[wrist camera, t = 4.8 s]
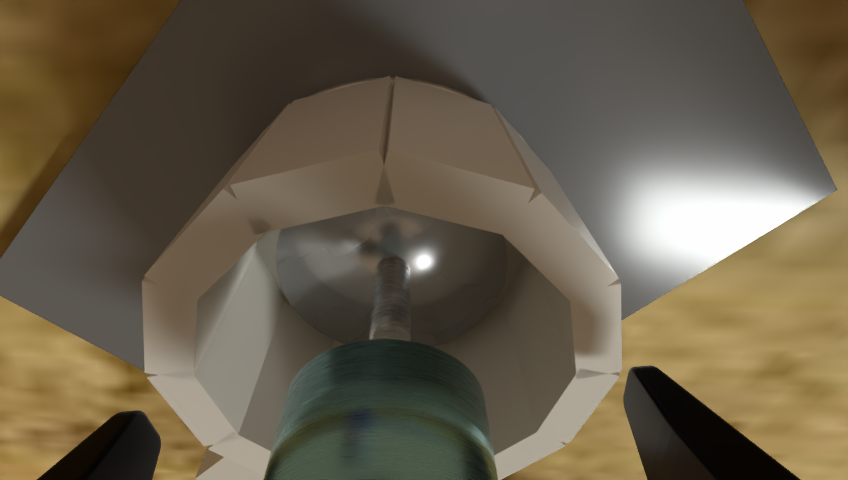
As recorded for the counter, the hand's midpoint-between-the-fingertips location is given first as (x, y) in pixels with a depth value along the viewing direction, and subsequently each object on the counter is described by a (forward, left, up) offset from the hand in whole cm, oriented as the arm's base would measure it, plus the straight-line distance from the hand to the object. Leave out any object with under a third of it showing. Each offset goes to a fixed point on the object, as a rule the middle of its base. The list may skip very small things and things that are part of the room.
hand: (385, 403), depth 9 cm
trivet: (0, 0, -6) cm, 6 cm away
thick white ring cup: (0, 0, -6) cm, 6 cm away
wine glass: (0, 0, -5) cm, 5 cm away
